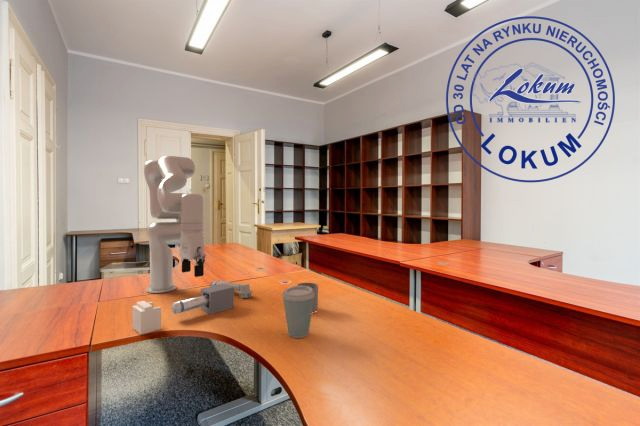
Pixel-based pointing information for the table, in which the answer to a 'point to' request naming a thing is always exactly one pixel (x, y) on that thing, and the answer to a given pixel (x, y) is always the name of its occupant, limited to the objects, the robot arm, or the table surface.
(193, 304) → the tube
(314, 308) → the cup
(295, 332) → the disposable coffee cup
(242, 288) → the grey stepped bar
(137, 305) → the socket
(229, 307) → the grey rectangular box
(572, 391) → the table surface
